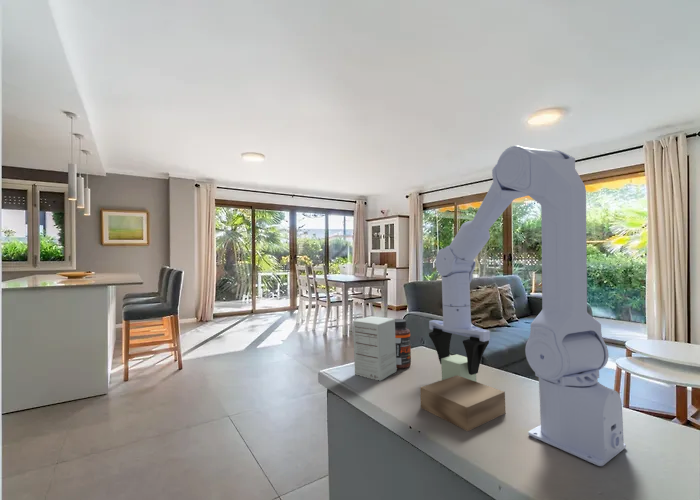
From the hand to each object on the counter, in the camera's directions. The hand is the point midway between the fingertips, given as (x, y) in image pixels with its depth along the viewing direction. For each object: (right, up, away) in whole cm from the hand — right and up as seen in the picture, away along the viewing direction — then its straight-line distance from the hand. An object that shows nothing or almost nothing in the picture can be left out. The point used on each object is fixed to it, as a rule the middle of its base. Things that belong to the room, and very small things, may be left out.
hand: (458, 368), depth 72 cm
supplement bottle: (-11, -4, +12) cm, 16 cm away
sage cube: (0, -3, 0) cm, 3 cm away
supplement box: (-17, -4, +7) cm, 19 cm away
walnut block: (-4, -3, -13) cm, 14 cm away
